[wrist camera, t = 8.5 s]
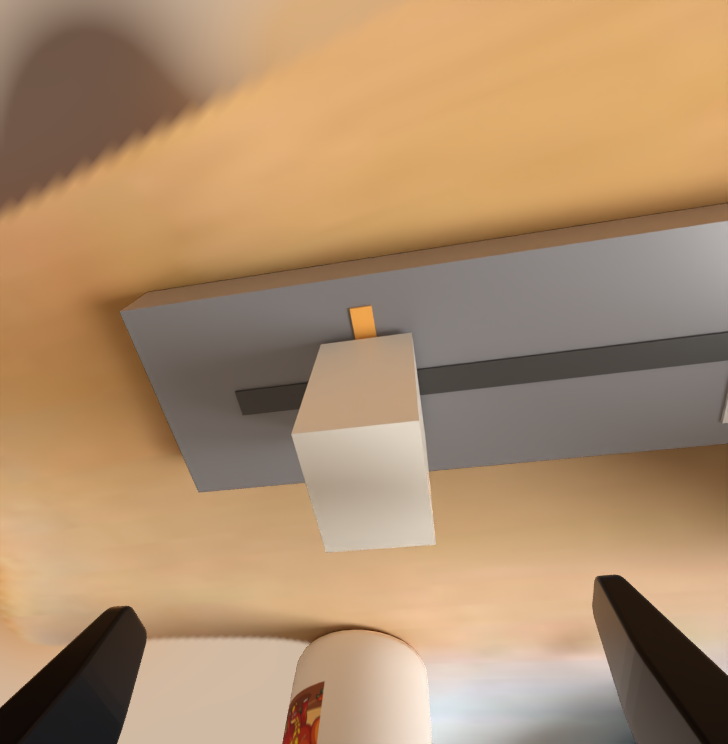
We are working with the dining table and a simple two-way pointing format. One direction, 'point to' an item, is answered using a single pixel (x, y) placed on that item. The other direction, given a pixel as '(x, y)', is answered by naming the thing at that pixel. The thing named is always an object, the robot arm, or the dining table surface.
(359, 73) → the dining table surface
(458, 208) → the dining table surface
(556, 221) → the dining table surface
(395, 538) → the fader cap
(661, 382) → the console
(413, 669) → the milk bottle
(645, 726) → the robot arm
